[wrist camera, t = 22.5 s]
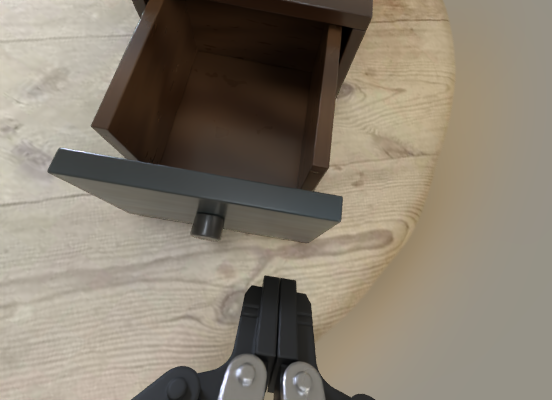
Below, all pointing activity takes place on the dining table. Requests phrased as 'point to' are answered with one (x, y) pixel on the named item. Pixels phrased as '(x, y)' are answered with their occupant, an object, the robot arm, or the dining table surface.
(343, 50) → the cabinet
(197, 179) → the drawer
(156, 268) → the dining table surface
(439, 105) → the dining table surface
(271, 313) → the robot arm
